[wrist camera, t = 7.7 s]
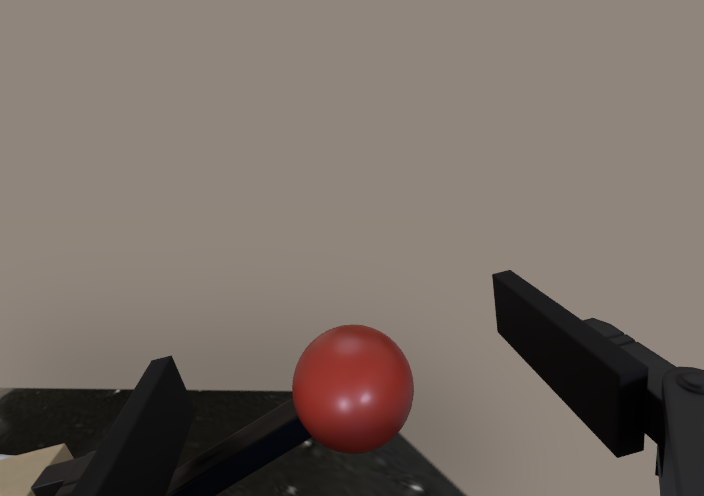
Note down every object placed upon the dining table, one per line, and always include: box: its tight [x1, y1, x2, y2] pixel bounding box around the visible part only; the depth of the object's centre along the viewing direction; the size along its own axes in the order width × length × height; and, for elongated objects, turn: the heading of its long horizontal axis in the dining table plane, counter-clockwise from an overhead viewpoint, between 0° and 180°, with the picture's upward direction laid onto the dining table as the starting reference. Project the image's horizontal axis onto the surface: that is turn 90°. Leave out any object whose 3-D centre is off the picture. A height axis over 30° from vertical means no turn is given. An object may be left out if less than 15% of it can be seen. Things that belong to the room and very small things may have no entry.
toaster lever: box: [166, 325, 414, 496], centre depth 13 cm, size 14×4×4 cm, turn 99°
